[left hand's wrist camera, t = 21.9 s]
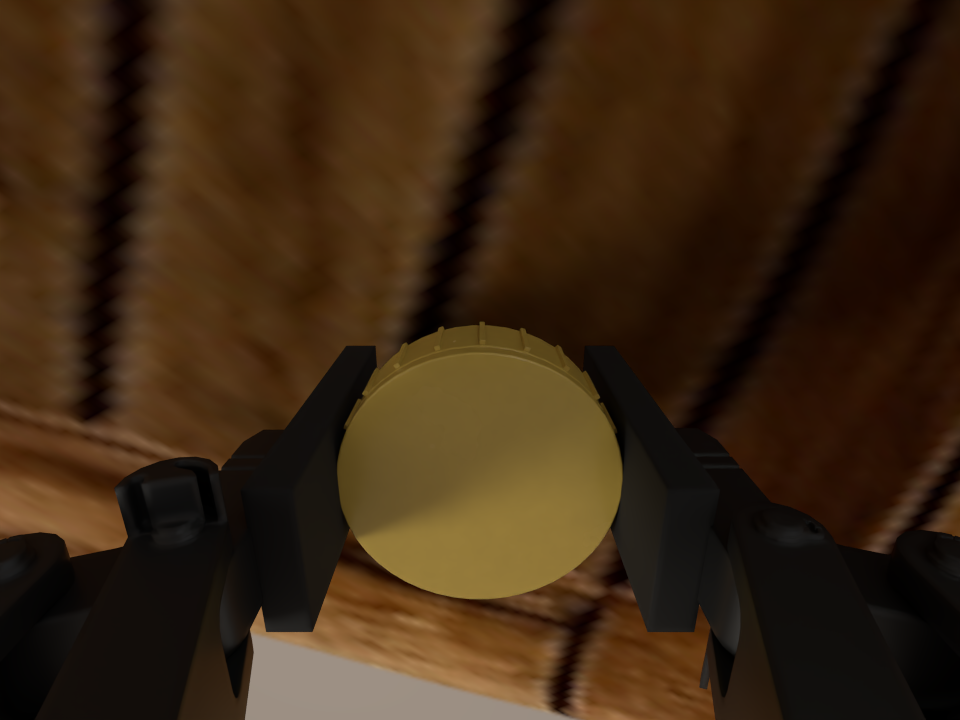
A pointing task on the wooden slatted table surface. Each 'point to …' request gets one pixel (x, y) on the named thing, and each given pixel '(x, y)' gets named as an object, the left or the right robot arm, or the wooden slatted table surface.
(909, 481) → the wooden slatted table surface
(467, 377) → the lid
